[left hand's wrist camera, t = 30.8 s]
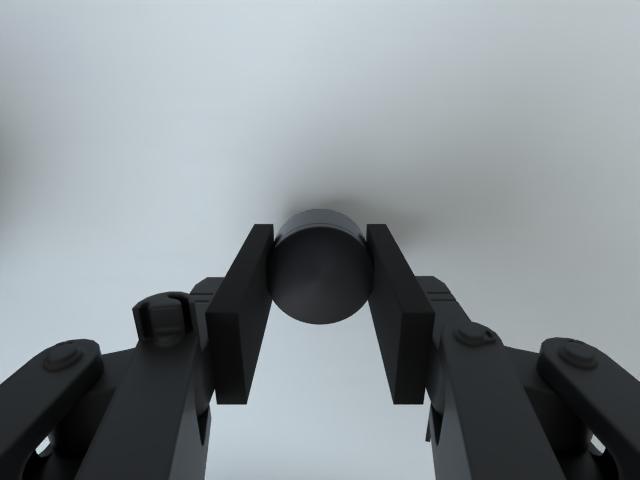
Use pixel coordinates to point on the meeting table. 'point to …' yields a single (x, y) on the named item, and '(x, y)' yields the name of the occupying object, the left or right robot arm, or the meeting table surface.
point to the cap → (320, 267)
